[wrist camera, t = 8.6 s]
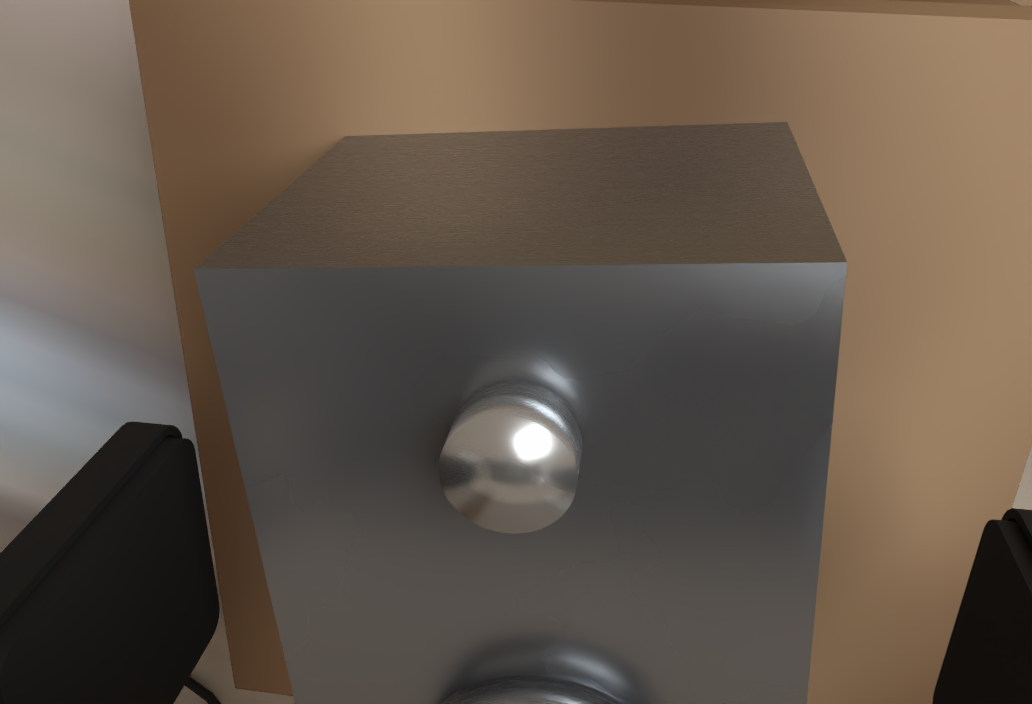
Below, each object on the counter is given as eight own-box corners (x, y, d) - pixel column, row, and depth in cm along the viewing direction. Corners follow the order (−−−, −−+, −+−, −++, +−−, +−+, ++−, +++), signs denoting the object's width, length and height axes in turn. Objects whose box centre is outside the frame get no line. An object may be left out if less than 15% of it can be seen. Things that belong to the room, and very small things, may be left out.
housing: (345, 135, 12) (161, 296, 8) (786, 122, 12) (860, 293, 7) (423, 659, 16) (330, 961, 12) (755, 677, 16) (788, 1011, 11)
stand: (323, 519, 22) (235, 688, 17) (272, -54, 16) (125, -19, 12) (871, 579, 20) (925, 778, 16) (1019, -26, 15) (1165, 24, 11)
